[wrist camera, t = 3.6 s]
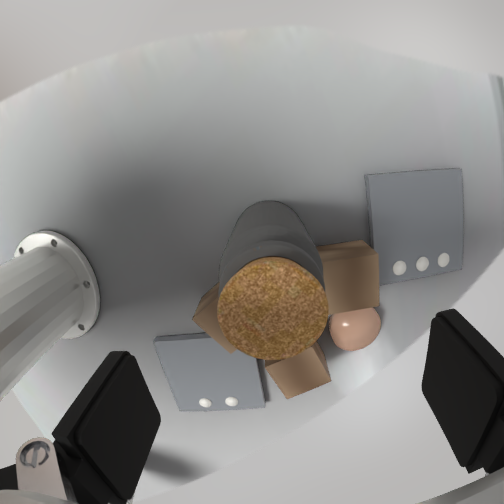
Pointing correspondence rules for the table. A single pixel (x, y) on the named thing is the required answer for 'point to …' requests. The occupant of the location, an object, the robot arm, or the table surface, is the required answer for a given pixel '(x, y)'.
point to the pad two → (209, 374)
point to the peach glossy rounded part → (354, 328)
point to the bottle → (271, 284)
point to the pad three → (416, 222)
